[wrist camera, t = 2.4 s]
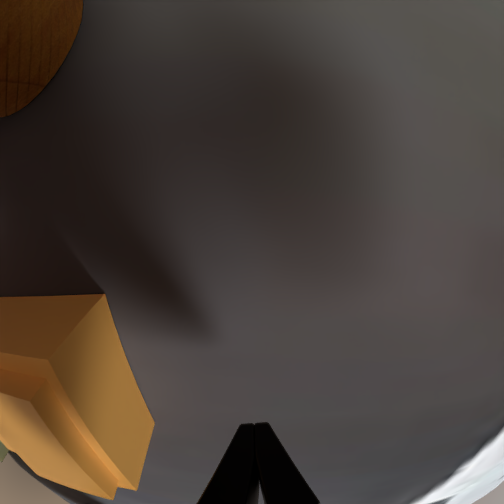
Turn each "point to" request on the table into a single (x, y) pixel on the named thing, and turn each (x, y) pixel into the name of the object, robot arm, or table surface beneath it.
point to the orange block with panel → (71, 394)
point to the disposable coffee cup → (33, 46)
